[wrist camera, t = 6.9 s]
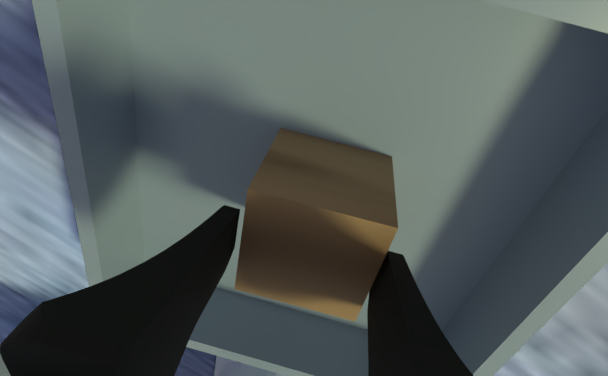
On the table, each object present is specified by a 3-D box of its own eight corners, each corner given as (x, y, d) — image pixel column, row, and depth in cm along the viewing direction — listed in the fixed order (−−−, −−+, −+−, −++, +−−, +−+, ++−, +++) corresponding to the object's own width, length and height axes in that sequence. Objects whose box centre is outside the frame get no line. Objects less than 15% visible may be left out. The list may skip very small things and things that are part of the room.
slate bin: (435, 346, 23) (446, 421, 20) (140, 263, 24) (96, 321, 20) (685, 18, 12) (824, 47, 8) (111, -133, 12) (-3, -169, 9)
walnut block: (359, 239, 18) (355, 321, 14) (265, 214, 19) (234, 288, 14) (392, 155, 16) (398, 228, 11) (280, 127, 16) (247, 188, 12)
